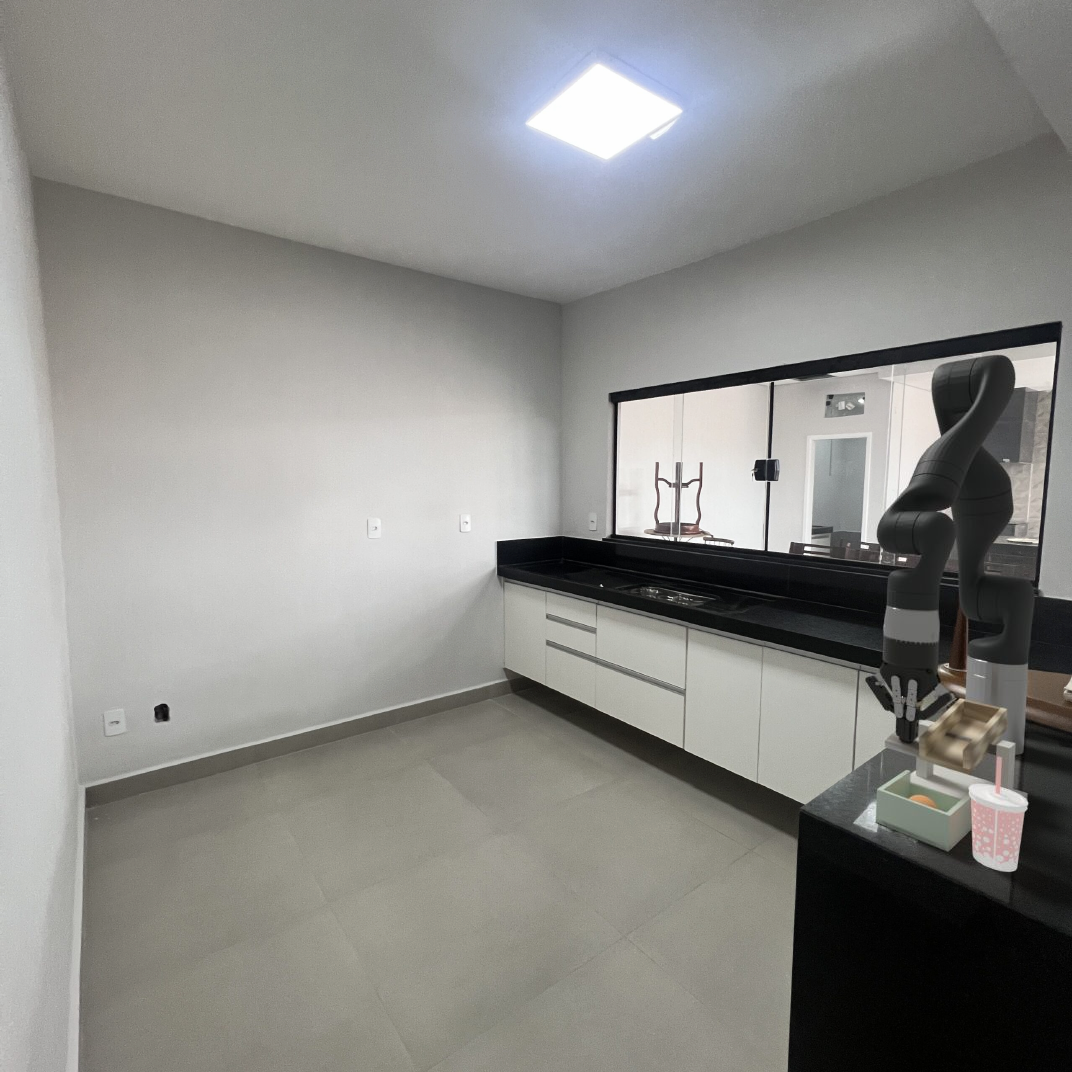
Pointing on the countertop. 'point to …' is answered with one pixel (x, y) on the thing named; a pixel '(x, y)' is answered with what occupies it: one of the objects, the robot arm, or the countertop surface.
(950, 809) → the cup
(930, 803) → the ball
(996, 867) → the beverage cup
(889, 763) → the countertop surface
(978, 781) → the pivot stand
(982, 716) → the tipping chute
